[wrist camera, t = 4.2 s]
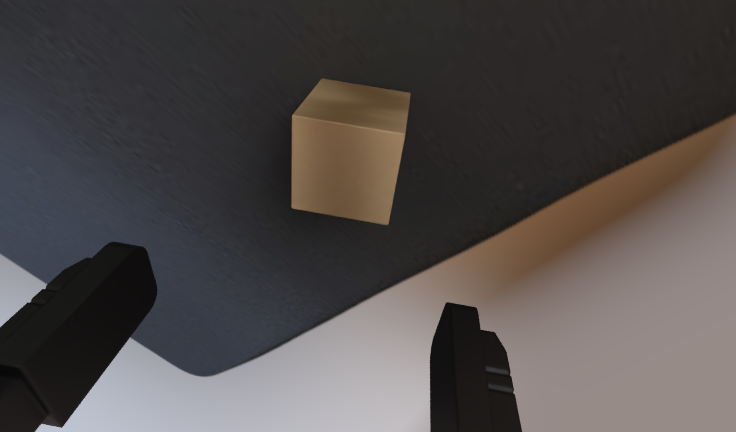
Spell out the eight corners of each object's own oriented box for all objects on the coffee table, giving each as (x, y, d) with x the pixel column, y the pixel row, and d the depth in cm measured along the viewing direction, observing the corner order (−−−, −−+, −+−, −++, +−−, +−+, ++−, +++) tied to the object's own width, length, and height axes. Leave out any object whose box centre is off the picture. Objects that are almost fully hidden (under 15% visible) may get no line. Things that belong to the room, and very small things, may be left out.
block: (411, 92, 19) (405, 133, 15) (396, 172, 21) (388, 226, 17) (321, 77, 19) (291, 114, 15) (317, 158, 21) (290, 208, 17)
